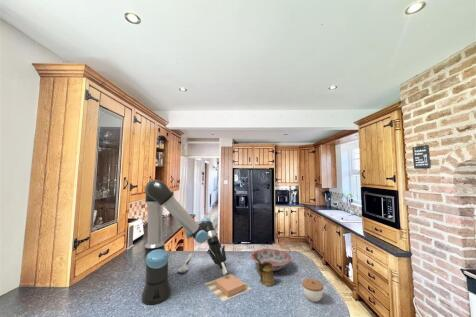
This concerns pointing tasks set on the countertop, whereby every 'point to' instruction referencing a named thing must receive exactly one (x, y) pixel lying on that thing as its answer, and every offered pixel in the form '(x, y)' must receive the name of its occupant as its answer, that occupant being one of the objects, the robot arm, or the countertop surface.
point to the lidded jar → (312, 289)
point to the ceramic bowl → (272, 258)
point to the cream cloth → (219, 293)
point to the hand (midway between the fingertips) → (225, 273)
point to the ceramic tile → (230, 285)
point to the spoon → (184, 265)
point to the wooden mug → (265, 273)
